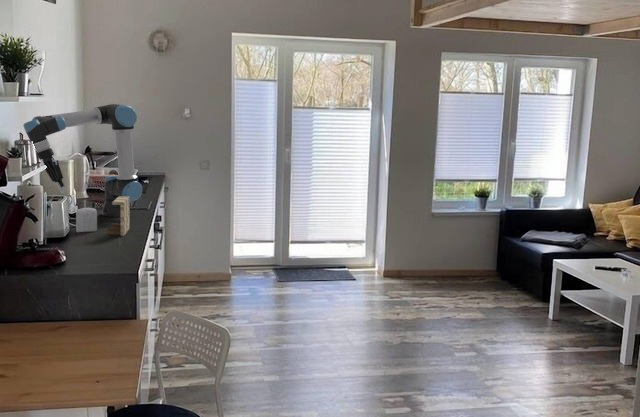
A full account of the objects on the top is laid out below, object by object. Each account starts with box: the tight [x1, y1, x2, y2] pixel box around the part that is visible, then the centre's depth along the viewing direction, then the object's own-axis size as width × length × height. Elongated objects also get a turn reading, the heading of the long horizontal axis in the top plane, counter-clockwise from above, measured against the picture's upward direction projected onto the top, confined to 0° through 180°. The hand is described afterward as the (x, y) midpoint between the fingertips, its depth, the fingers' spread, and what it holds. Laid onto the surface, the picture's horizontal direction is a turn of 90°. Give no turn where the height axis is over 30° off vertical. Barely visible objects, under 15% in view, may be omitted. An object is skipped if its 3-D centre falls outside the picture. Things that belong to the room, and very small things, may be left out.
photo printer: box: [75, 207, 98, 233], centre depth 320 cm, size 10×4×12 cm, turn 123°
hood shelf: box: [107, 196, 131, 237], centre depth 322 cm, size 18×8×17 cm, turn 8°
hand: (64, 192), depth 319 cm, fingers closed
